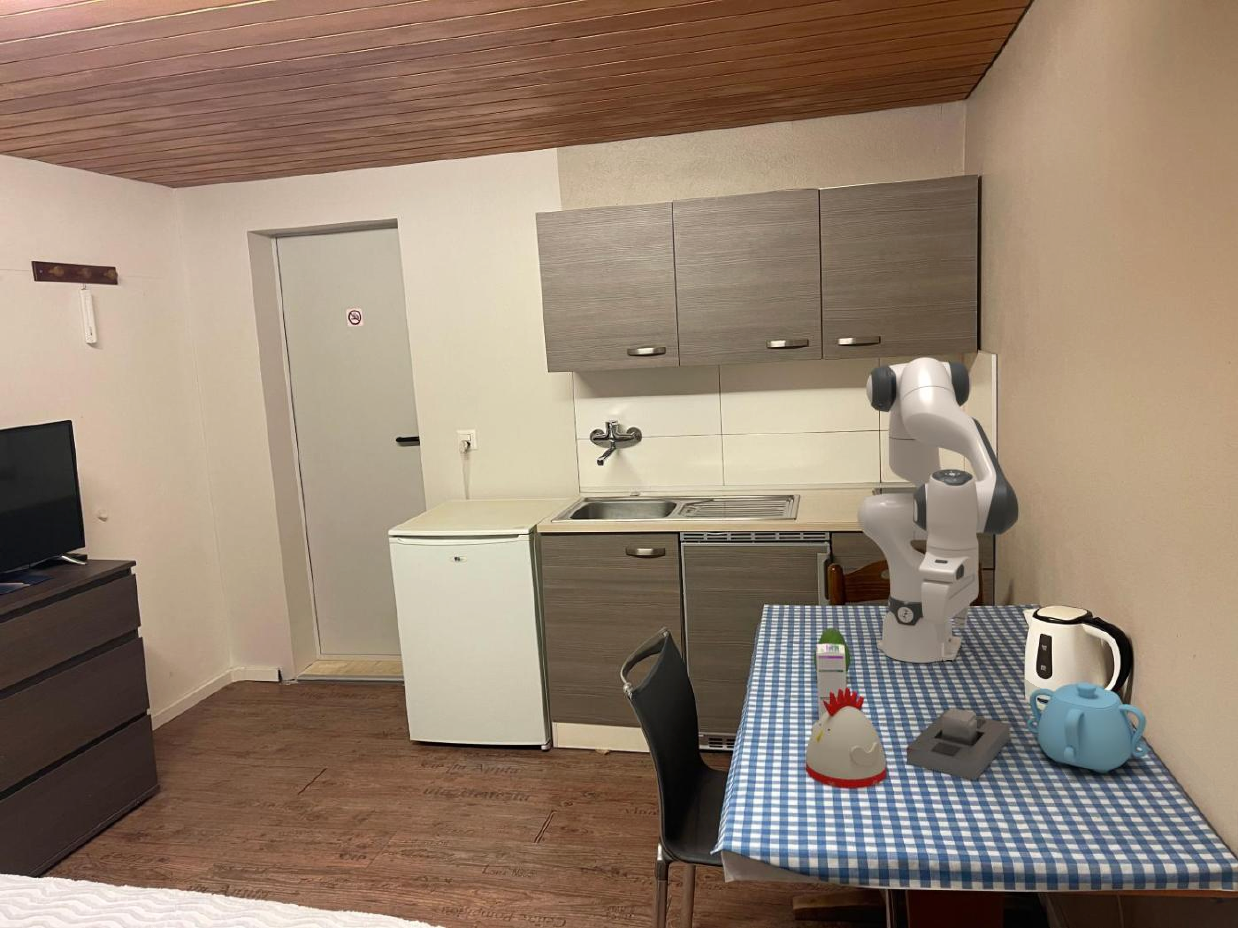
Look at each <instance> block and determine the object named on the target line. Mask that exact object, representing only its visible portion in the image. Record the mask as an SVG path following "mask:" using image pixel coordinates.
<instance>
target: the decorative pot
mask: <svg viewBox="0 0 1238 928" xmlns="http://www.w3.org/2000/svg"><path fill="white" fill-rule="evenodd" d="M1038 696H1047V697H1050V698H1049V699H1048V701H1047V703H1046V705H1045V707H1044V708H1043V710H1042V713H1040V710H1039V707H1038V704H1037V697H1038ZM1029 706H1030V709H1031V710H1030V711H1031V712H1032V714H1033V717H1031V718H1029V719H1028V720H1027V723H1026V727H1027V729H1028V731H1029V732H1031V733H1033V734H1035V735H1037V741H1038V743H1039V745H1040V748H1041V749H1042V751H1043V752H1044V753H1045V755H1047V756H1048V757H1049V758H1050V759H1052V760H1053V762H1056V763H1059V764H1067V765H1069V766H1074V767H1078V768H1082V769H1083V768H1084V769H1088V770H1092V771H1094V772H1096V773H1101V774H1107V773H1109V771H1110V770H1114V769H1117V768H1119V767H1121V766H1122V765H1123V764H1124V763H1126V762H1127V761H1128V759H1129V758H1130V757H1131V756H1133V757H1137V758H1138V757H1139V758H1142V757H1145V756H1147V755H1148V753H1149V748H1148V746H1147V744H1146V743H1145V742H1143V741H1140V739H1141V738H1142V736H1143V733H1144V731H1145V729H1146V725H1147V718H1146V715H1145V714H1144V713H1143V711H1141V709H1139V708H1138V707H1136V706H1134V705H1131V704H1127V703H1126V704H1123V702H1122V700H1121V698H1120V696H1119V695H1118V694H1117V693H1116V692H1114V691H1112V690H1109V689H1106V688H1105V687H1104V686H1102V685H1100V684H1094V683H1091V682H1085V681H1080V682H1077V683H1076V684H1072V683H1071V684H1070V683H1069V684H1066V685H1063V686H1060V687H1059V688H1057V689H1056V690H1054V691H1053V690H1052V689H1048V688H1039V689H1035V690H1034V691H1033V692H1032V693H1031V695H1030V696H1029ZM1128 712H1129V713H1131V714H1133V715H1134V716H1136V718H1137V720H1138V725H1137V728H1136V731H1135V733H1134V729H1133V726H1132V722H1131V719H1130V717H1129V713H1128ZM1033 723H1036V726H1034V724H1033ZM1137 747H1140V748H1141V750H1139V749H1138V748H1137Z"/></svg>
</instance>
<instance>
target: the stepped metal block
mask: <svg viewBox="0 0 1238 928" xmlns="http://www.w3.org/2000/svg"><path fill="white" fill-rule="evenodd" d="M976 717H977V712H973V711H969V710H965V709H964V710H963V709H958V708H954V707H951V708H949V709H948V710H947V712H946V713H945V714H944V715H943V719H942V740H946V741H950V742H954V743H959V744H963V745H968V746H972V747H973V746H974V745H975V744H976V743H977V720H976Z"/></svg>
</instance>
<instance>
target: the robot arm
mask: <svg viewBox="0 0 1238 928" xmlns="http://www.w3.org/2000/svg"><path fill="white" fill-rule="evenodd" d="M971 389H972V378H971V375H970V373H969V370H968V368H967V366H966V365H965V364H964V363H963V362H959V361H954V360H947V361H940V360H938V359H936V358H932V357H920V358H919V357H918V358H915V359H914V360H912V361H910V362H907V363H906V362H905V363H898V364H897V363H896V364H893V365H889V364H885V365H880V366H877V367H875V368H873V370H871V371H870V373H869V377H868V378H867V381H866V388H865V393H866V396H867V397H866V398H867V399H868V401H869V403H870V406H871V407H872V408H873V409H874V410H875V411H878V412H882V413H883V412H884V413H889V414H890V415H889V422H888V423H889V424H888V465H889V468H890V470H891V471H892V473H893V474H894V475H896V476H897V477H899V478H901V479H903V480H905V481H907V482H910V483H911V484H913V485H914V486H915V487H916V490H915V492H914V493H880V494H875V495H871V496H866V497H865V498H864V499H863V500H862V502H861V503H860V504H859V507H858V509H857V514H856V515H857V523H858V525H859V526H858V527H859V528H860V529H861V531H862V532H863V534H865V536H867V537H868V538H870V539H871V540H872V541H874V542H875V543H876V545H877V546H878V547H879V548H880V549H881V551H882V552H883V555H884V557H885V559H886V561H887V565H888V571H889V583H890V584H889V585H890V587H889V588H890V591H889V592H890V594H889V595H888V601H887V605H888V612H887V613H886V614H885V615H884V616H883V620H882V623H883V624H882V635H881V637H882V638H881V641H879V642H877V644H876V648H877V649H879V650H880V651H882V652H883V653H884V655H885V656H887V657H889V658H892V659H894V660H897V661H900V662H907V663H916V664H917V663H918V664H919V663H921V664H922V663H925V664H926V663H934V662H935V661H936V662H942V660H943V662H945V661H946V660H952V661H955V660H956V657H957V655H958V653H959V651H960V649H959V648H961V646H962V644H961V642H962V643H963V641H962V638H961V637H958V636H955V635H953V624H952V623H953V622H952V620H951V619H953V618H954V617H955V618H954V627H955V628H957V629H964V628H966V627H967V624H968V623H967V622H968V615H969V611H970V605H971V603H972V602H973V601H975V600H977V598H978V596H979V591H980V588H979V587H980V586H979V581H980V580H979V549H980V548H979V540H978V538H977V534H978V533H979V534H981V533H982V534H986V535H1000V536H1001V535H1003V534H1004V533H1007V531H1009V530H1010V529H1011V528H1012V527H1013V526H1014V525H1015V524H1016V523H1017V522H1018V519H1019V514H1020V513H1019V512H1020V511H1019V507H1020V506H1019V500H1018V498H1017V494H1016V491H1015V490H1014V488H1013V486H1012V485H1011V484H1010V483H1009V481H1008V479H1007V478H1006V476H1005V474H1004V471H1003V469H1002V467H1001V465H1000V463H999V461H998V457H997V456H996V454H995V452H994V449H993V446H992V445H991V442H990V440H989V439H988V436H987V434H986V431H985V430H984V428H983V426H982V425H981V423H980V422H979V421H978V420H977V419H976V418H975V417H972V416H970V415H969V414H967V413H966V412H965V411H964V410H963V409H962V408H961V407H962V406H963V405H965V404H966V402H968V401H969V398H970V395H971V391H972V390H971ZM939 448H941V449H943V450H944V449H945V450H948V451H952V452H954V453H957V454H960V455H961V456H963V457H965V459H967V460H968V461H969V463H970V465H971V468H972V470H973V473H974V475H975V477H974V475H973V474H972V473H970V472H968V471H965V470H961V469H957V468H956V469H955V468H952V469H950V468H946V469H942V468H941V461H940V449H939ZM975 478H976V480H977V481H975ZM914 540H915V541H926V552H925V554H924V553H922V552H920V551H918V550H916V549H915V548H914V547H913V546H912V544H911V542H912V541H914ZM960 645H961V646H960ZM958 650H959V651H958ZM957 652H958V653H957ZM954 659H955V660H954ZM946 662H947V661H946Z"/></svg>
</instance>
